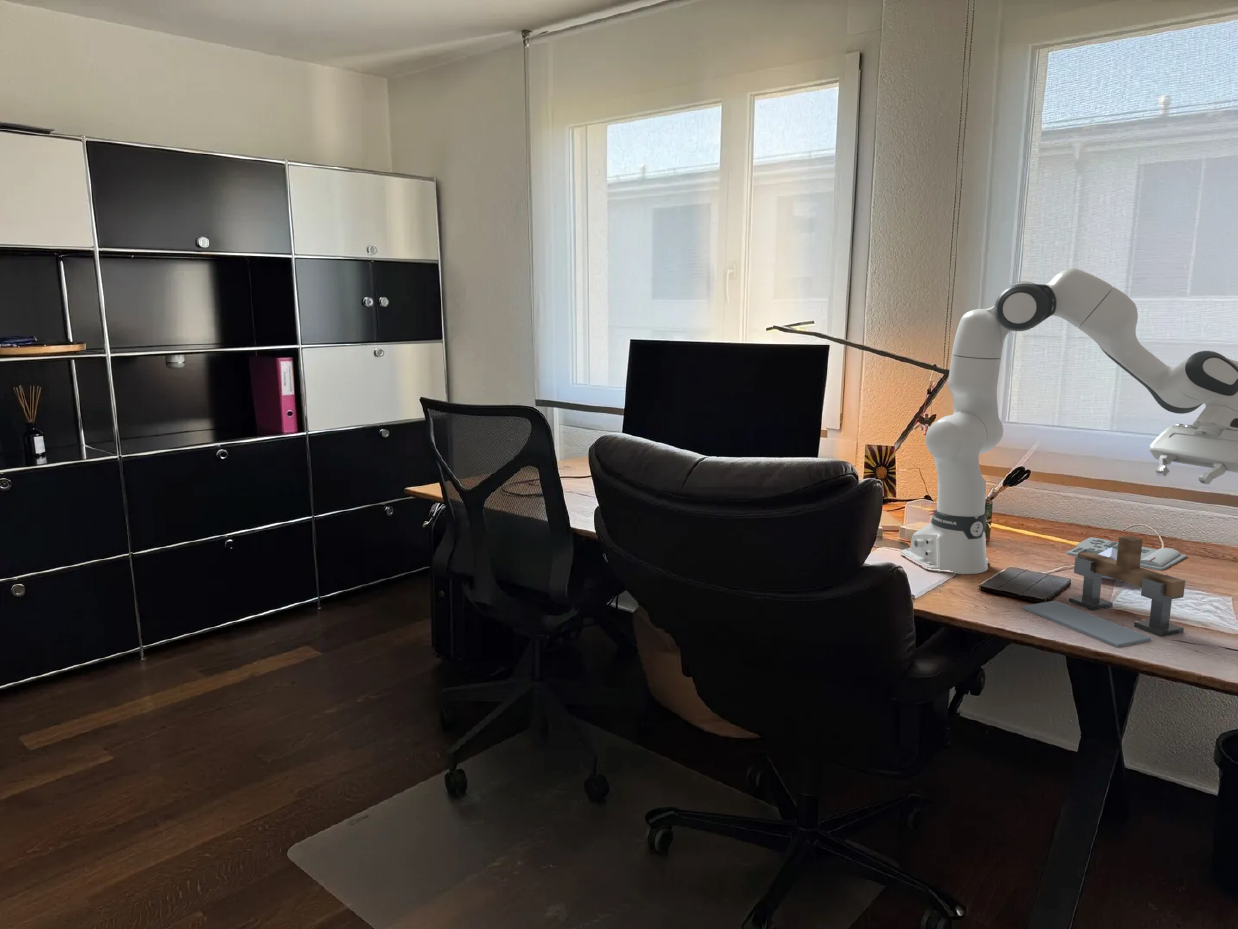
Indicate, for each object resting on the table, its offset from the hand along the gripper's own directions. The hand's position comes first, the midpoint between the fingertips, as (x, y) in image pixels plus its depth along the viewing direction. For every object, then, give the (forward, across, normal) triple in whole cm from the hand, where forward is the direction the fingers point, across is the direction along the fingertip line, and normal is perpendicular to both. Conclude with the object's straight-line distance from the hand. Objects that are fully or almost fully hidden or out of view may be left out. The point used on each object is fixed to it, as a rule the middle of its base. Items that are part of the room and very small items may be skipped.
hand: (1181, 478), depth 178 cm
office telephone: (+3, -32, +38) cm, 50 cm away
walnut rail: (+24, 0, +5) cm, 25 cm away
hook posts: (+30, 0, +10) cm, 32 cm away
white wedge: (+15, -21, +25) cm, 36 cm away
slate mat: (+38, 0, +2) cm, 38 cm away
